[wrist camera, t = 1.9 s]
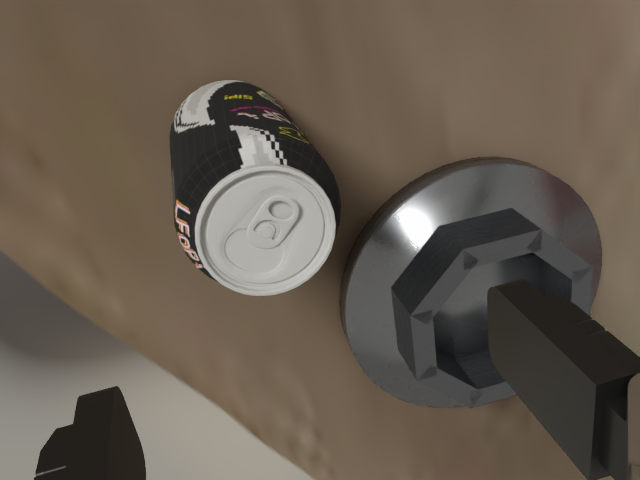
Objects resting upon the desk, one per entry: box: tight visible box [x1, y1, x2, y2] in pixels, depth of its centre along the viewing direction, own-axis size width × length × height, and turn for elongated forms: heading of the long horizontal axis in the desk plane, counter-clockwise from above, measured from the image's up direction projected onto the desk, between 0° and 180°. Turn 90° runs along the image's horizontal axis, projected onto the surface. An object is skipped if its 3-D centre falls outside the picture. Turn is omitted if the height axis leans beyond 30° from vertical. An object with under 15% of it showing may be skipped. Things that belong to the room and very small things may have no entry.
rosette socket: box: [339, 157, 602, 408], centre depth 35 cm, size 16×16×4 cm
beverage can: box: [170, 80, 341, 296], centre depth 25 cm, size 6×6×12 cm
